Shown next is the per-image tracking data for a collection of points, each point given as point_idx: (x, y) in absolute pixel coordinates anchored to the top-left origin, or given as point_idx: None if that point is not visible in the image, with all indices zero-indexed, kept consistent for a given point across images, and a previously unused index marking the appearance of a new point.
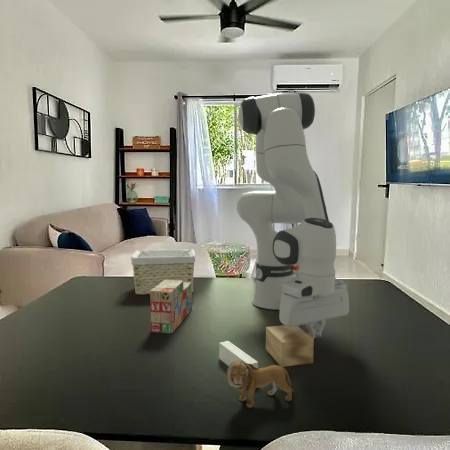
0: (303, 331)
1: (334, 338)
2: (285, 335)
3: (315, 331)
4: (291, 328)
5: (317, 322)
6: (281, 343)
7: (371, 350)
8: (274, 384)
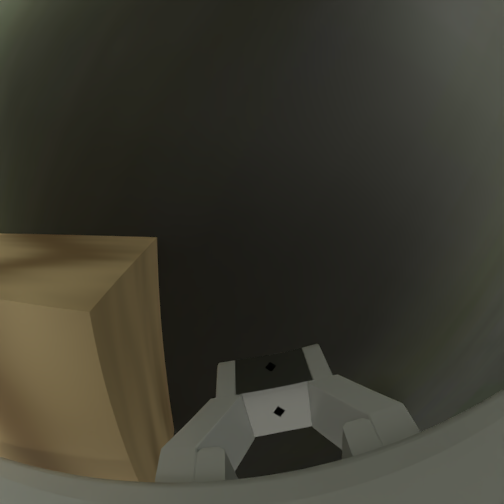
0: (126, 464)
1: (464, 212)
2: (5, 444)
3: (267, 427)
4: (36, 389)
5: (359, 409)
6: None
7: (477, 372)
8: None
